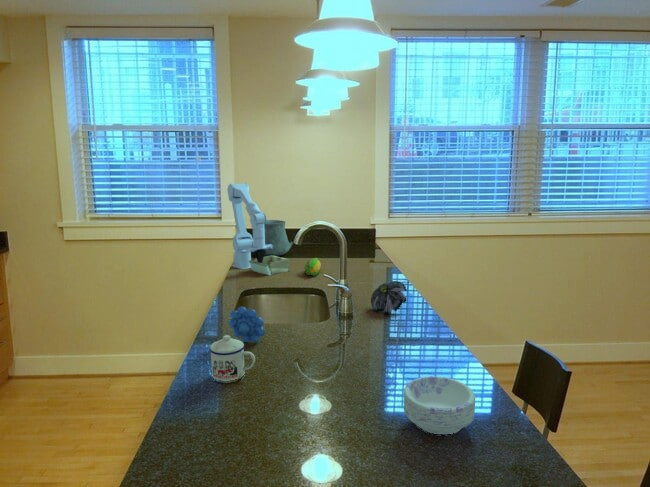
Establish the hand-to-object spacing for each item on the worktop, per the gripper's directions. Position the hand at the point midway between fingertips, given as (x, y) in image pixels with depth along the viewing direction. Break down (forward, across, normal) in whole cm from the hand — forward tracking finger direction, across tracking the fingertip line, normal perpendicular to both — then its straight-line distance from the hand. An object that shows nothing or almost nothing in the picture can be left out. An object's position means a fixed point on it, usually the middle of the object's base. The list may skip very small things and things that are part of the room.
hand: (260, 264), depth 244 cm
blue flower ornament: (+6, -57, -70) cm, 90 cm away
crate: (+5, +7, 0) cm, 9 cm away
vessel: (+5, +34, +32) cm, 47 cm away
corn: (+5, +20, -17) cm, 27 cm away
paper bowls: (+6, -54, -139) cm, 149 cm away
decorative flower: (+6, +1, -80) cm, 80 cm away
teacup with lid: (+6, -73, -87) cm, 114 cm away
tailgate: (+4, +1, 0) cm, 5 cm away
